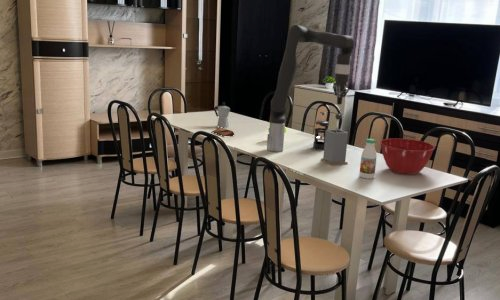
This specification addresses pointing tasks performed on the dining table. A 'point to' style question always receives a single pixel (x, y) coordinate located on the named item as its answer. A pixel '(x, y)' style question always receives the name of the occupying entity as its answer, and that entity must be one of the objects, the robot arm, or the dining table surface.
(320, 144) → the french press
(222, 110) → the coffee maker
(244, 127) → the dining table surface
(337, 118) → the plunger
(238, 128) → the dining table surface
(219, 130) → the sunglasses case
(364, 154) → the milk bottle
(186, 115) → the dining table surface
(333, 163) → the grey upright prism
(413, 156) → the mixing bowl
